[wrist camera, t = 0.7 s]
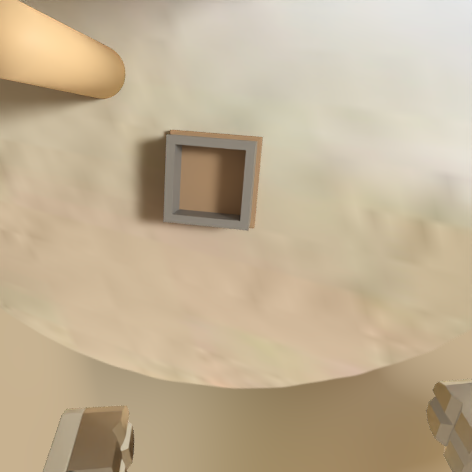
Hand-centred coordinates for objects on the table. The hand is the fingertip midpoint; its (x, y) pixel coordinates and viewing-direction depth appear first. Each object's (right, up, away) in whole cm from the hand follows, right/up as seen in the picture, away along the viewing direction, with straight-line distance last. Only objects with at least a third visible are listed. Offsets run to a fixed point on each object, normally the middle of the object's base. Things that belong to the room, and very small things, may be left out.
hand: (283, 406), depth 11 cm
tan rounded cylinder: (-17, +24, +38) cm, 48 cm away
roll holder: (-4, +12, +40) cm, 41 cm away
